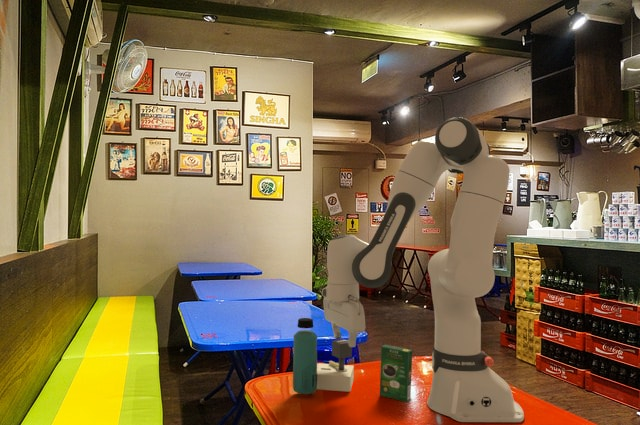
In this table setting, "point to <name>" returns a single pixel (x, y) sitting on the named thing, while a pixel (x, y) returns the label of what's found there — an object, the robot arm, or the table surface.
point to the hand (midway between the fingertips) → (344, 342)
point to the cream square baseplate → (334, 377)
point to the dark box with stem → (340, 352)
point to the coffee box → (395, 373)
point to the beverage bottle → (305, 358)
